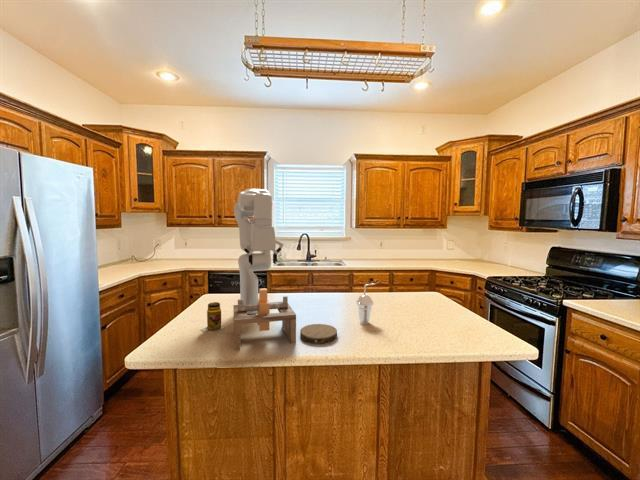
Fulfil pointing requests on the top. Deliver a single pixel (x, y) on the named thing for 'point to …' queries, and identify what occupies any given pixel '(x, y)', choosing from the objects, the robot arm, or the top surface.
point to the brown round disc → (318, 334)
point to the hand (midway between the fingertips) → (262, 263)
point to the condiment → (213, 318)
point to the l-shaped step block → (263, 308)
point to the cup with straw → (364, 306)
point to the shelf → (265, 318)
